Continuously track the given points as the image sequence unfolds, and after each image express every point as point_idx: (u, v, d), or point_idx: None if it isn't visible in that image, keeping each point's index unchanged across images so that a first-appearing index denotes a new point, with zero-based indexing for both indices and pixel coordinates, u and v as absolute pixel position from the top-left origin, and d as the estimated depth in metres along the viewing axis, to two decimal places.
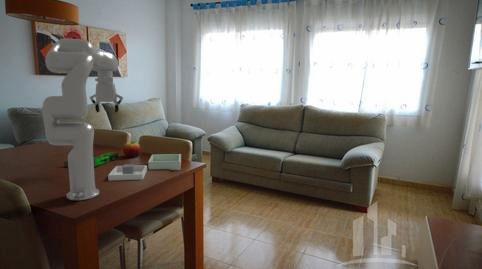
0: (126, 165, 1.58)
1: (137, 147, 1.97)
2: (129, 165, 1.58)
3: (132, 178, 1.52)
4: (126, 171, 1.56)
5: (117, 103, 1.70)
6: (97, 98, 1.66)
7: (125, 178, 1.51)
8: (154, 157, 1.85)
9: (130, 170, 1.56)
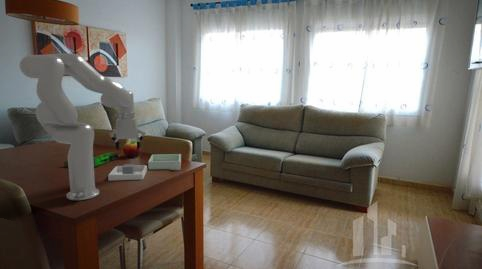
0: (126, 165, 1.58)
1: None
2: (129, 165, 1.58)
3: (132, 178, 1.52)
4: (126, 171, 1.56)
5: (139, 139, 1.56)
6: (118, 135, 1.52)
7: (125, 178, 1.51)
8: (154, 157, 1.85)
9: (130, 170, 1.56)
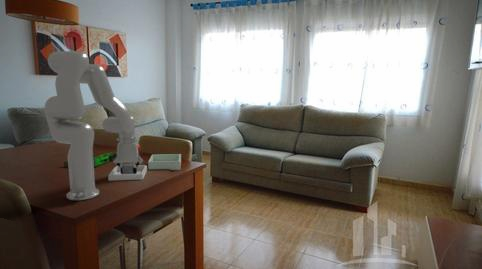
0: (126, 165, 1.58)
1: None
2: (129, 165, 1.58)
3: (132, 178, 1.52)
4: (126, 171, 1.56)
5: (136, 166, 1.57)
6: (118, 159, 1.54)
7: (125, 178, 1.51)
8: (154, 157, 1.85)
9: (130, 170, 1.56)
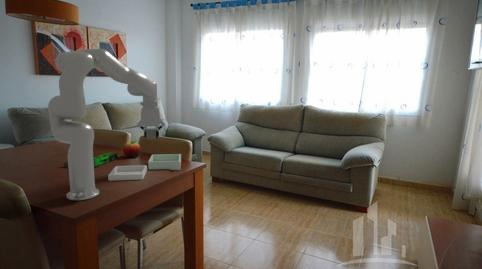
0: (149, 128, 1.68)
1: (137, 147, 1.97)
2: (152, 128, 1.68)
3: (132, 178, 1.52)
4: (149, 134, 1.66)
5: (158, 129, 1.67)
6: (142, 122, 1.64)
7: (125, 178, 1.51)
8: (154, 157, 1.85)
9: (153, 133, 1.66)
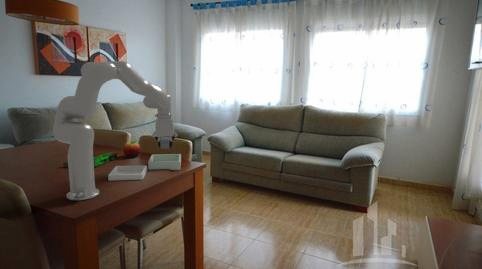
0: (163, 139, 1.77)
1: (137, 147, 1.97)
2: (166, 139, 1.77)
3: (132, 178, 1.52)
4: (163, 144, 1.75)
5: (172, 139, 1.76)
6: (157, 133, 1.73)
7: (125, 178, 1.51)
8: (154, 157, 1.85)
9: (167, 143, 1.75)
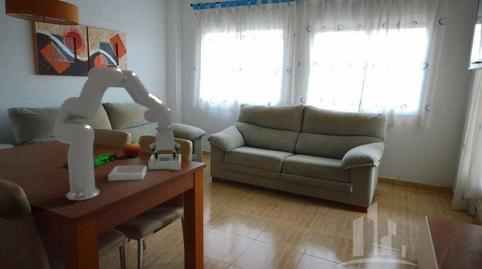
0: (163, 156, 1.78)
1: (137, 147, 1.97)
2: (166, 156, 1.79)
3: (132, 178, 1.52)
4: None
5: (175, 150, 1.77)
6: (157, 147, 1.74)
7: (125, 178, 1.51)
8: (154, 157, 1.85)
9: (167, 160, 1.76)
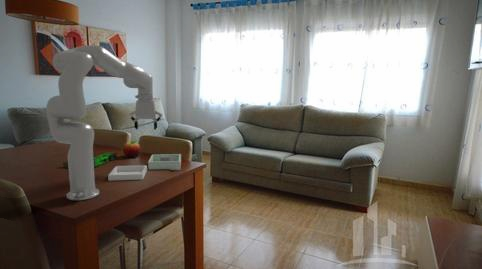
0: (163, 156, 1.78)
1: (137, 147, 1.97)
2: (166, 156, 1.79)
3: (132, 178, 1.52)
4: None
5: (156, 120, 1.67)
6: (137, 115, 1.64)
7: (125, 178, 1.51)
8: (154, 157, 1.85)
9: (167, 160, 1.76)
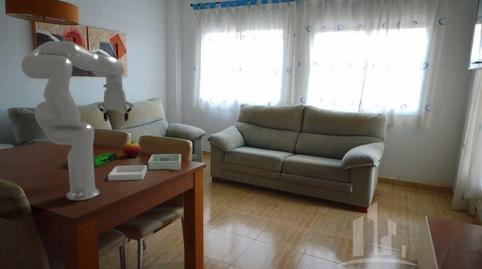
0: (163, 156, 1.78)
1: (137, 147, 1.97)
2: (166, 156, 1.79)
3: (132, 178, 1.52)
4: None
5: (127, 111, 1.57)
6: (105, 106, 1.54)
7: (125, 178, 1.51)
8: (154, 157, 1.85)
9: (167, 160, 1.76)
